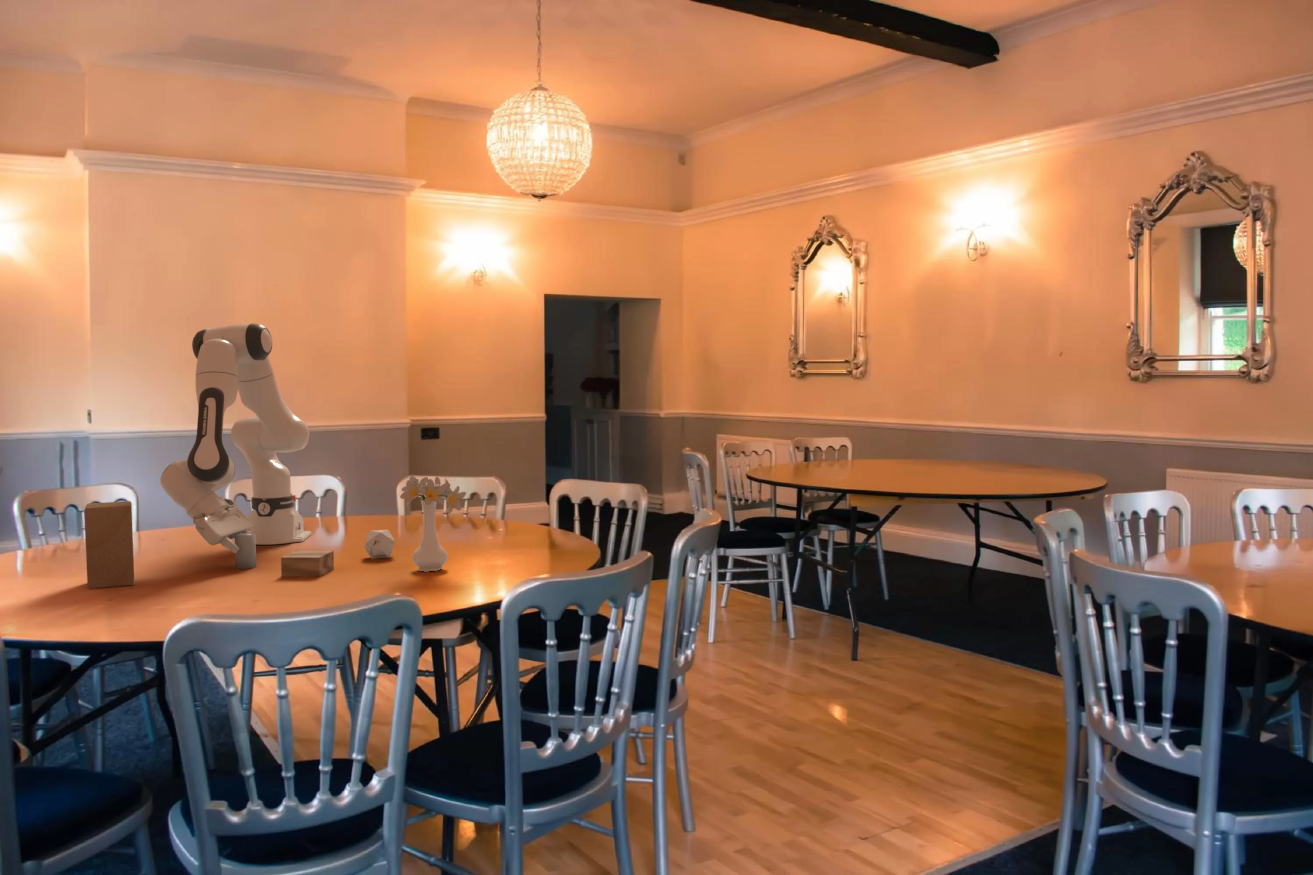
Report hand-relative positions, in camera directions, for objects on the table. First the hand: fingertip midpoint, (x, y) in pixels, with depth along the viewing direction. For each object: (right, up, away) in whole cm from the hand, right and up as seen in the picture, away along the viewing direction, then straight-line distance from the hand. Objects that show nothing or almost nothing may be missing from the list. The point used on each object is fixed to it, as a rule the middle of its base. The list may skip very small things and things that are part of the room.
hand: (246, 547), depth 267 cm
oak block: (+19, -6, -7) cm, 22 cm away
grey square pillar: (0, -5, 0) cm, 5 cm away
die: (+32, -5, +14) cm, 36 cm away
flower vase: (+52, -6, -4) cm, 52 cm away
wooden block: (-25, -7, -20) cm, 33 cm away
